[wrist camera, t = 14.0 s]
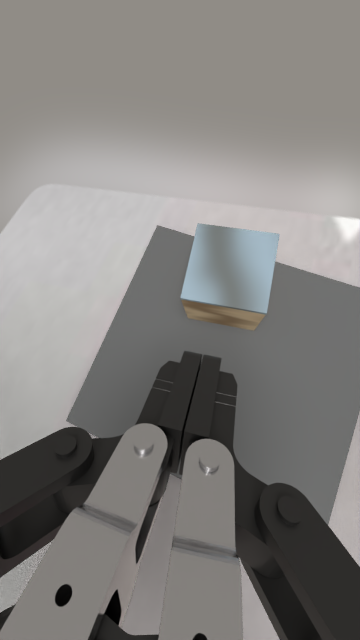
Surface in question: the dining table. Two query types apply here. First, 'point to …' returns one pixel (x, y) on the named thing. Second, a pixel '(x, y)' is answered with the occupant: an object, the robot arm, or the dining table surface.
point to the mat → (241, 368)
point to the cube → (229, 276)
